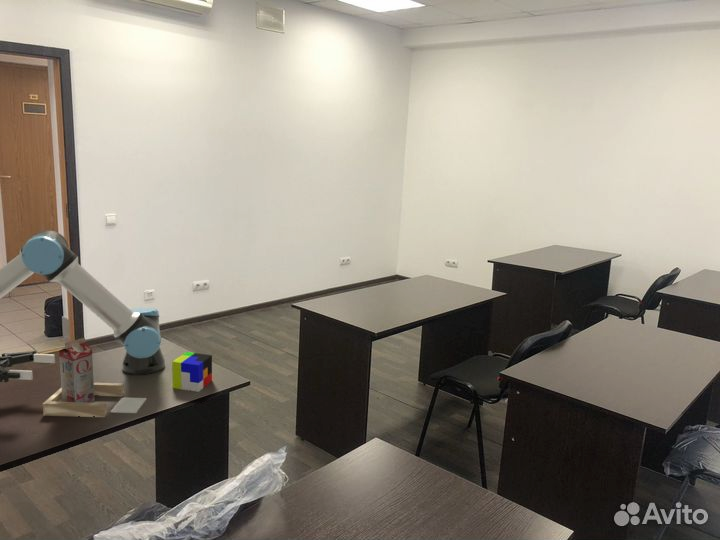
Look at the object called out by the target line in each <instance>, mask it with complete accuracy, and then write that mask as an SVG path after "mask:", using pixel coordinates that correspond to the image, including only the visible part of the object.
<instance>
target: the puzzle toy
mask: <svg viewBox="0 0 720 540" xmlns="http://www.w3.org/2000/svg"><path fill="white" fill-rule="evenodd" d="M171 366H172V389H179V390H183V391H190V390H191V391H192V392H197V393H199V392H200V391H202V390H203V389H204V388H205V387H206V386H207V385H209V384H210V383H211V382H212V381H213V355H212V354H205V353H197V352H191V351H185V352H184V353H183V354H182V355H180V356H179V357H177V358H175V359H173V361H172V365H171ZM208 383H209V384H208Z"/></svg>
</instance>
